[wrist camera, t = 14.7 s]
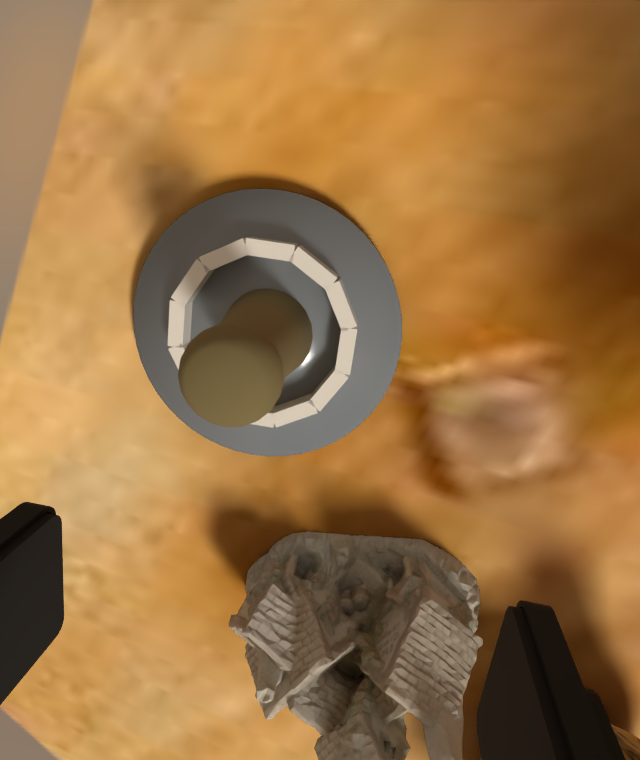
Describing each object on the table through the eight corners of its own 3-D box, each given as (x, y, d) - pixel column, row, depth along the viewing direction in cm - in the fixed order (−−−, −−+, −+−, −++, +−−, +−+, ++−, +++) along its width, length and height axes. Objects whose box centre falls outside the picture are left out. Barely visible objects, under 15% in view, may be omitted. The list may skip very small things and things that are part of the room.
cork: (326, 310, 34) (305, 354, 24) (293, 391, 36) (259, 464, 26) (240, 273, 34) (181, 301, 24) (211, 356, 36) (144, 416, 26)
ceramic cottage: (508, 617, 41) (557, 823, 27) (341, 698, 46) (309, 909, 32) (387, 463, 39) (372, 598, 25) (227, 565, 44) (139, 725, 30)
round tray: (425, 211, 33) (429, 210, 31) (376, 469, 39) (376, 486, 36) (143, 170, 34) (126, 167, 31) (135, 428, 39) (120, 442, 37)
